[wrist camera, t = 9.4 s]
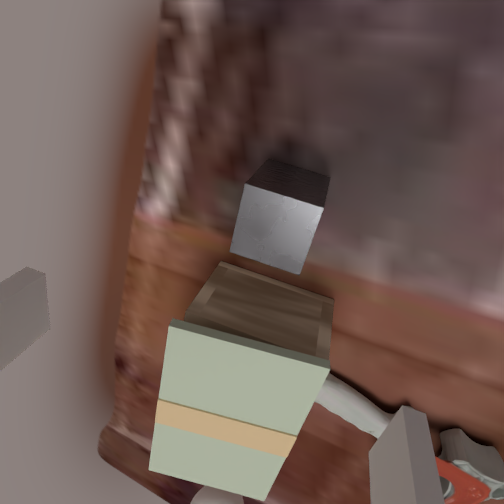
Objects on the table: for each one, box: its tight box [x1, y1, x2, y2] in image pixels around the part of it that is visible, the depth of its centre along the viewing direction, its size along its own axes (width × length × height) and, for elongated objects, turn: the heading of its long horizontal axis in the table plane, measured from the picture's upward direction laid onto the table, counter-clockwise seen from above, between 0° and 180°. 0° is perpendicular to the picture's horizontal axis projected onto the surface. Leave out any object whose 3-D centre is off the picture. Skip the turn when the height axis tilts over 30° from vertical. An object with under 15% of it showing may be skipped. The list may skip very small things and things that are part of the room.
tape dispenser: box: [314, 373, 504, 504], centre depth 35 cm, size 18×5×20 cm
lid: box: [149, 318, 330, 501], centre depth 29 cm, size 19×11×1 cm, turn 167°
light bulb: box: [191, 485, 244, 504], centre depth 41 cm, size 7×7×11 cm
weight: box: [230, 159, 330, 275], centre depth 25 cm, size 5×5×7 cm
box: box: [184, 261, 334, 360], centre depth 33 cm, size 18×11×8 cm, turn 167°
